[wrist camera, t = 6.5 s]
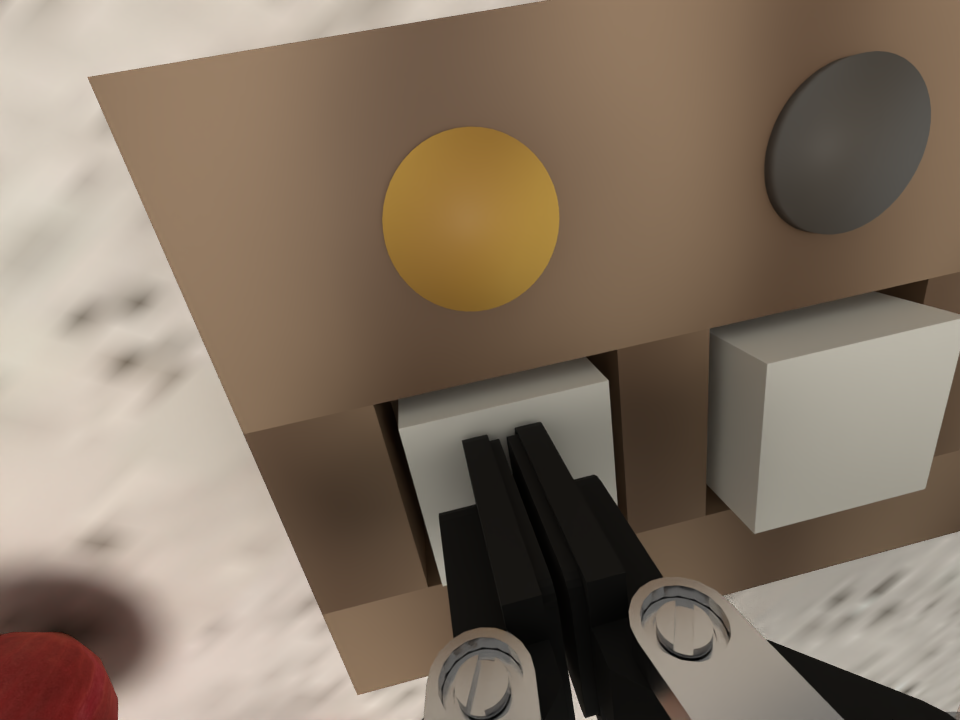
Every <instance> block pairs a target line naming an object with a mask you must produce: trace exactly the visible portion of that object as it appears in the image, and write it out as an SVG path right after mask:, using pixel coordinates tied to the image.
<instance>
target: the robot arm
mask: <svg viewBox="0 0 960 720" xmlns="http://www.w3.org/2000/svg"><path fill="white" fill-rule="evenodd" d="M462 444H463V449H464V453H465V458H466V462H467V467H468V471H469V476H470V480H471V485H472V489H473V494H474V498H475V503H476V504H474V505H470V506H466V507H462V508H458V509H454V510H451V511H447V512H443V513H439V525H440V533H441V541H442V549H443V558H444V566H445V574H446V582H447V590H448V598H449V607H450V615H451V623H452V631H453V639H452V640H450V641H449V642H448V643H447V644H446V645H445V646H444V647H443V649H442V650H441V651H440V652H439V653H438V655H437V657H436V658H435V660H434V662H433V664H432V666H431V668H430V672H429V676H428V680H427V685H426V696H425V708H424V718H423V719H422V720H575V714H574V707H573V701H572V694H571V687H570V681H569V675H570V677H571V680H572V683H573V686H574V689H575V692H576V695H577V698H578V701H579V704H580V707H581V710H582V712H583V715H584V717H585V718H587V717H590V716H594V715H596V716H597V719H598V720H960V705H959V708H958V711H957V712H944V711H942V710H940V709H938V708H936V707H934V706H932V705H930V704H928V703H926V702H924V701H922V700H919V699H917V698H914V697H912V696H909V695H906V694H904V693H901V692H899V691H896V690H894V689H891V688H889V687H886V686H884V685H881V684H878V683H876V682H873V681H871V680H868V679H866V678H863V677H861V676H858V675H856V674H853V673H851V672H848V671H845V670H843V669H840V668H838V667H835V666H833V665H830V664H828V663H825V662H823V661H820V660H817V659H815V658H812V657H810V656H807V655H805V654H802V653H800V652H797V651H795V650H792V649H790V648H787V647H784V646H782V645H779V644H777V643H774V642H772V641H769V640H767V639H765V638H764V637H763V636H762V635H761V634H760V633H759V632H758V631H757V630H756V629H755V628H754V627H753V626H752V625H751V624H750V623H749V622H748V620H747V619H746V618H745V617H744V616H743V615H742V614H741V613H740V612H739V611H738V610H737V609H736V608H735V607H734V606H733V605H732V604H731V603H730V602H729V601H728V600H727V599H726V598H724V597H723V596H722V595H721V594H719V593H718V592H717V591H716V590H715V589H713V588H711V587H709V586H707V585H705V584H703V583H701V582H699V581H695V580H691V579H687V578H683V577H663V576H662V574H661V573H660V571H659V570H658V568H657V566H656V565H655V563H654V562H653V560H652V559H651V557H650V556H649V554H648V553H647V551H646V549H645V548H644V546H643V545H642V543H641V542H640V540H639V539H638V537H637V536H636V534H635V532H634V531H633V529H632V528H631V526H630V525H629V523H628V522H627V520H626V519H625V517H624V515H623V514H622V512H621V511H620V509H619V508H618V506H617V505H616V503H615V502H614V500H613V498H612V497H611V495H610V494H609V492H608V491H607V489H606V488H605V486H604V485H603V483H602V481H601V480H600V479H599V478H598V476H596V475H590V476H586V477H582V478H578V479H573V477H572V476H571V474H570V472H569V470H568V468H567V467H566V465H565V463H564V461H563V460H562V458H561V456H560V454H559V452H558V451H557V449H556V447H555V445H554V444H553V442H552V440H551V438H550V436H549V435H548V433H547V431H546V429H545V428H544V426H543V424H542V423H541V422H536V423H532V424H528V425H523V426H519V427H515V435H512V436H508V437H507V445H508V451H509V457H510V462H511V468H512V472H511V469H510V466H509V464H508V461H507V458H506V456H505V453H504V450H503V448H502V445H501V442H500V440H499V439H495V440H491V441H489V438H488V435H487V434H486V435H482V436H477V437H473V438H469V439H465V440H462ZM512 473H513V474H512ZM568 672H569V674H568Z"/></svg>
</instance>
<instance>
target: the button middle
mask: <svg viewBox="0 0 960 720" xmlns="http://www.w3.org/2000/svg"><path fill="white" fill-rule="evenodd" d="M959 353H960V314H957V313H953V312H949V311H946V310H942V309H938V308H934V307H931V306H927V305H923V304H919V303H916V302H912V301H908V300H905V299H901V298H897V297H893V296H890V295H886V294H882V293H878V292H875V291H873V292H869V293H864V294H860V295H855V296H851V297H846V298H842V299H838V300H833V301H829V302H824V303H820V304H816V305H811V306H807V307H802V308H798V309H794V310H789V311H785V312H780V313H776V314H772V315H767V316H763V317H758V318H754V319H749V320H745V321H741V322H736V323H732V324H727V325H723V326H719V327H714V328H710V337H709V382H708V428H707V473H706V484H707V485H708V486H709V487H710V488H711V489H712V490H713V491H714V492H715V493H716V494H717V496H718V497H719V498H720V499H721V500H722V501H723V502H724V503H725V504H726V505H727V506H728V507H729V508H730V509H731V510H732V511H733V512H734V513H735V514H736V515H737V516H738V517H739V518H740V519H741V520H742V522H743V523H744V524H745V525H746V526H747V527H748V528H749V529H750V530H751V531H752V532H753V533H754V534H756V533H760V532H764V531H767V530H771V529H775V528H779V527H783V526H786V525H790V524H794V523H798V522H802V521H805V520H809V519H813V518H817V517H821V516H824V515H828V514H832V513H836V512H840V511H843V510H847V509H851V508H855V507H859V506H862V505H866V504H870V503H874V502H878V501H881V500H885V499H889V498H893V497H897V496H900V495H904V494H908V493H912V492H915V491H919V490H923V489H925V488H926V484H927V480H928V476H929V472H930V468H931V464H932V460H933V456H934V452H935V448H936V444H937V440H938V436H939V432H940V428H941V424H942V420H943V416H944V412H945V408H946V404H947V401H948V397H949V393H950V389H951V385H952V381H953V377H954V373H955V369H956V365H957V361H958V357H959Z"/></svg>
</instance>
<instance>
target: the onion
mask: <svg viewBox="0 0 960 720" xmlns="http://www.w3.org/2000/svg"><path fill="white" fill-rule="evenodd" d="M0 720H118V698H117V695H116V693H115V691H114V688H113V686H112V683H111V681H110V679H109V676H108V674H107V672H106V670H105V668H104V666H103V663H102V661H101V659H100V658H99V657H98V656H97V655H96V654H94V653H93V652H92V651H91V650H90V649H88V648H87V647H86V646H84V645H83V644H82V643H80V642H79V641H77V640H76V639H75V638H73V637H72V636H70V635H68V634H65V633H62V632H11V633H7V634H2V635H0Z"/></svg>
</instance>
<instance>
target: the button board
mask: <svg viewBox="0 0 960 720" xmlns="http://www.w3.org/2000/svg"><path fill="white" fill-rule="evenodd" d="M88 79H89V82H90V84H91V86H92V89H93V91H94V93H95V95H96V98H97V100H98V102H99V105H100V107H101V109H102V111H103V114H104V116H105V118H106V121H107V123H108V125H109V127H110V130H111V132H112V134H113V137H114V139H115V141H116V143H117V146H118V148H119V150H120V153H121V155H122V157H123V159H124V162H125V164H126V166H127V169H128V171H129V173H130V175H131V178H132V180H133V182H134V185H135V187H136V189H137V191H138V194H139V196H140V198H141V201H142V203H143V205H144V207H145V210H146V212H147V214H148V217H149V219H150V221H151V223H152V226H153V228H154V230H155V233H156V235H157V237H158V239H159V242H160V244H161V246H162V249H163V251H164V253H165V255H166V258H167V260H168V262H169V265H170V267H171V269H172V271H173V274H174V276H175V278H176V281H177V283H178V285H179V287H180V290H181V292H182V294H183V297H184V299H185V301H186V304H187V306H188V308H189V310H190V313H191V315H192V317H193V320H194V322H195V324H196V326H197V329H198V331H199V333H200V336H201V338H202V340H203V342H204V345H205V347H206V349H207V352H208V354H209V356H210V358H211V361H212V363H213V365H214V368H215V370H216V372H217V374H218V377H219V379H220V381H221V384H222V386H223V388H224V390H225V393H226V395H227V397H228V400H229V402H230V404H231V406H232V409H233V411H234V413H235V416H236V418H237V420H238V422H239V425H240V427H241V429H242V432H243V434H244V436H245V438H246V441H247V443H248V445H249V448H250V450H251V452H252V454H253V457H254V459H255V461H256V464H257V466H258V468H259V470H260V473H261V475H262V477H263V480H264V482H265V484H266V486H267V489H268V491H269V493H270V496H271V498H272V500H273V502H274V505H275V507H276V509H277V512H278V514H279V516H280V518H281V521H282V523H283V525H284V528H285V530H286V532H287V535H288V537H289V539H290V541H291V544H292V546H293V548H294V551H295V553H296V555H297V557H298V560H299V562H300V564H301V567H302V569H303V571H304V573H305V576H306V578H307V580H308V583H309V585H310V587H311V589H312V592H313V594H314V596H315V599H316V601H317V603H318V605H319V608H320V610H321V612H322V615H323V617H324V619H325V621H326V624H327V626H328V628H329V631H330V633H331V635H332V637H333V640H334V642H335V644H336V647H337V649H338V651H339V653H340V656H341V658H342V660H343V663H344V665H345V667H346V669H347V672H348V674H349V676H350V679H351V681H352V683H353V685H354V688H355V690H356V692H357V695H360V694H363V693H367V692H371V691H374V690H378V689H382V688H385V687H389V686H393V685H397V684H400V683H404V682H408V681H411V680H415V679H419V678H422V677H426V676H429V672H430V668H431V666H432V664H433V662H434V660H435V658H436V657H437V655H438V653H439V652H440V651H441V650H442V649H443V647H444V646H445V645H446V644H447V643H448V642H449V641H450V640H452V639H453V631H452V623H451V615H450V607H449V598H448V590H447V586H443V585H442V582H441V578H440V575H439V571H438V568H437V564H436V561H435V557H434V554H433V550H432V546H431V543H430V539H429V536H428V532H427V529H426V525H425V522H424V518H423V515H422V511H421V508H420V504H419V500H418V497H417V493H416V490H415V486H414V483H413V479H412V476H411V472H410V469H409V465H408V462H407V458H406V454H405V451H404V447H403V444H402V440H401V437H400V433H399V430H398V399H401V398H406V397H410V396H414V395H419V394H423V393H428V392H432V391H436V390H441V389H445V388H450V387H454V386H459V385H463V384H467V383H472V382H476V381H481V380H485V379H489V378H494V377H498V376H503V375H507V374H511V373H516V372H520V371H525V370H529V369H533V368H538V367H542V366H547V365H551V364H556V363H560V362H564V361H569V360H573V359H578V358H582V357H586V358H587V359H588V360H589V361H590V362H591V363H592V364H593V365H594V366H595V367H596V368H597V369H598V370H599V371H600V372H601V373H602V374H603V375H604V376H605V377H606V378H607V379H608V380H609V393H610V407H611V420H612V434H613V448H614V462H615V476H616V490H617V504H618V508H619V509H620V511H621V512H622V514H623V515H624V517H625V519H626V520H627V522H628V523H629V525H630V526H631V528H632V529H633V531H634V532H635V534H636V536H637V537H638V539H639V540H640V542H641V543H642V545H643V546H644V548H645V549H646V551H647V553H648V554H649V556H650V557H651V559H652V560H653V562H654V563H655V565H656V566H657V568H658V570H659V571H660V573H661V574H662V576H663V577H683V578H687V579H691V580H695V581H699V582H701V583H703V584H705V585H707V586H709V587H711V588H713V589H715V590H716V591H717V592H718V593H719V594H721V595H722V596H723V595H727V594H731V593H734V592H738V591H742V590H745V589H749V588H753V587H756V586H760V585H764V584H767V583H771V582H775V581H778V580H782V579H786V578H789V577H793V576H797V575H800V574H804V573H808V572H811V571H815V570H819V569H822V568H826V567H830V566H833V565H837V564H841V563H844V562H848V561H852V560H855V559H859V558H863V557H866V556H870V555H874V554H877V553H881V552H885V551H888V550H892V549H896V548H899V547H903V546H907V545H910V544H914V543H918V542H921V541H925V540H929V539H932V538H936V537H940V536H943V535H947V534H951V533H954V532H958V531H960V353H959V357H958V361H957V365H956V369H955V373H954V377H953V381H952V385H951V389H950V393H949V397H948V401H947V404H946V408H945V412H944V416H943V420H942V424H941V428H940V432H939V436H938V440H937V444H936V448H935V452H934V456H933V460H932V464H931V468H930V472H929V476H928V480H927V484H926V488H925V489H923V490H919V491H915V492H912V493H908V494H904V495H900V496H897V497H893V498H889V499H885V500H881V501H878V502H874V503H870V504H866V505H862V506H859V507H855V508H851V509H847V510H843V511H840V512H836V513H832V514H828V515H824V516H821V517H817V518H813V519H809V520H805V521H802V522H798V523H794V524H790V525H786V526H783V527H779V528H775V529H771V530H767V531H764V532H760V533H756V534H754V533H753V532H752V531H751V530H750V529H749V528H748V527H747V526H746V525H745V524H744V523H743V522H742V520H741V519H740V518H739V517H738V516H737V515H736V514H735V513H734V512H733V511H732V510H731V509H730V508H729V507H728V506H727V505H726V504H725V503H724V502H723V501H722V500H721V499H720V498H719V497H718V496H717V494H716V493H715V492H714V491H713V490H712V489H711V488H710V487H709V486H708V485H707V484H706V473H707V428H708V382H709V337H710V328H714V327H719V326H723V325H727V324H732V323H736V322H741V321H745V320H749V319H754V318H758V317H763V316H767V315H772V314H776V313H780V312H785V311H789V310H794V309H798V308H802V307H807V306H811V305H816V304H820V303H824V302H829V301H833V300H838V299H842V298H846V297H851V296H855V295H860V294H864V293H869V292H873V291H875V292H878V293H882V294H886V295H890V296H893V297H897V298H901V299H905V300H908V301H912V302H916V303H919V304H923V305H927V306H931V307H934V308H938V309H942V310H946V311H949V312H953V313H957V314H960V0H547V1H541V2H535V3H529V4H523V5H517V6H511V7H505V8H499V9H493V10H487V11H481V12H475V13H469V14H463V15H457V16H451V17H445V18H439V19H433V20H427V21H421V22H415V23H409V24H403V25H397V26H391V27H385V28H379V29H373V30H367V31H361V32H355V33H349V34H343V35H337V36H331V37H325V38H319V39H313V40H307V41H301V42H295V43H289V44H283V45H277V46H271V47H265V48H259V49H253V50H247V51H241V52H235V53H229V54H223V55H217V56H211V57H205V58H199V59H194V60H188V61H182V62H176V63H170V64H164V65H158V66H152V67H146V68H140V69H134V70H128V71H122V72H116V73H110V74H104V75H98V76H92V77H88Z"/></svg>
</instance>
